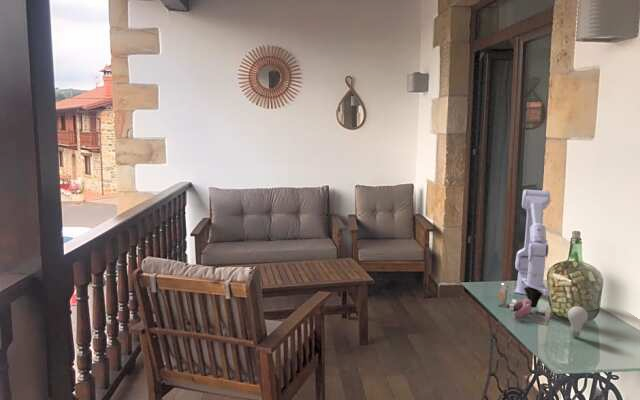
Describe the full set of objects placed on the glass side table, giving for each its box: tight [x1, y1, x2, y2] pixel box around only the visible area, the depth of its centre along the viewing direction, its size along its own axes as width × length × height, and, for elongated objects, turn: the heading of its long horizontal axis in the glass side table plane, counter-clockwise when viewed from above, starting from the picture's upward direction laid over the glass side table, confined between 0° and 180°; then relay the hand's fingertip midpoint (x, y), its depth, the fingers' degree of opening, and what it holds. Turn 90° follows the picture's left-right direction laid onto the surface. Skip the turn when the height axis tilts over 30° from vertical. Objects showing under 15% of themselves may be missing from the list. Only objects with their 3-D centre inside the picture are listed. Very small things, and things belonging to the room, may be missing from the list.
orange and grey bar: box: [497, 281, 510, 299], centre depth 199 cm, size 13×3×2 cm, turn 154°
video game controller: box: [513, 298, 533, 318], centre depth 196 cm, size 10×5×7 cm, turn 159°
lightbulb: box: [567, 306, 589, 339], centre depth 177 cm, size 6×6×11 cm
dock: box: [498, 289, 552, 318], centre depth 201 cm, size 7×19×7 cm, turn 61°
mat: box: [511, 310, 550, 326], centre depth 193 cm, size 8×12×1 cm, turn 61°
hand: (532, 306), depth 200 cm, fingers closed
